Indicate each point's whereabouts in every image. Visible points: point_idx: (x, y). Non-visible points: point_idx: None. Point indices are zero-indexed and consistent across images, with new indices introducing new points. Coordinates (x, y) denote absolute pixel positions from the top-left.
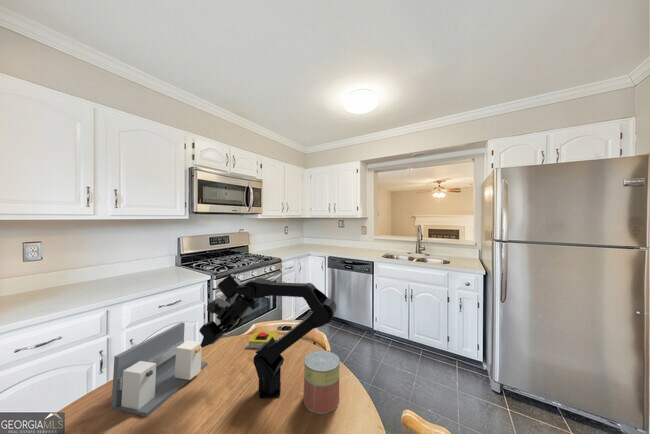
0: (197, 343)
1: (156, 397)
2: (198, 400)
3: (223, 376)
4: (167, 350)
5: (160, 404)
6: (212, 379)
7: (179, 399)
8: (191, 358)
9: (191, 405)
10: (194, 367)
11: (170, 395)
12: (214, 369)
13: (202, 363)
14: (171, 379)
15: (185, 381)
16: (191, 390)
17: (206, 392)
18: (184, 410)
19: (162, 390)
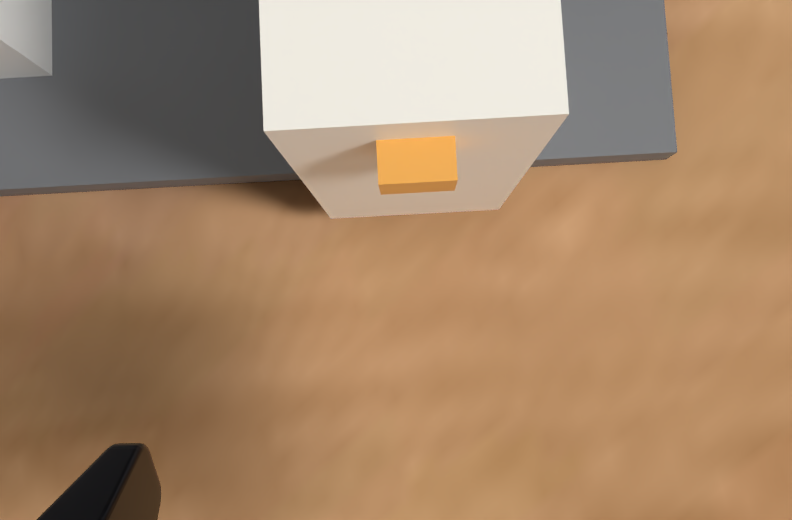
0: (503, 60)
1: (48, 101)
2: None
3: (537, 495)
4: None
5: (23, 194)
6: (459, 408)
7: (128, 302)
8: (305, 168)
9: None
10: (389, 197)
11: (133, 186)
12: (618, 303)
13: (638, 112)
14: None
15: None
16: (258, 317)
17: (270, 491)
18: (25, 462)
19: (141, 69)
